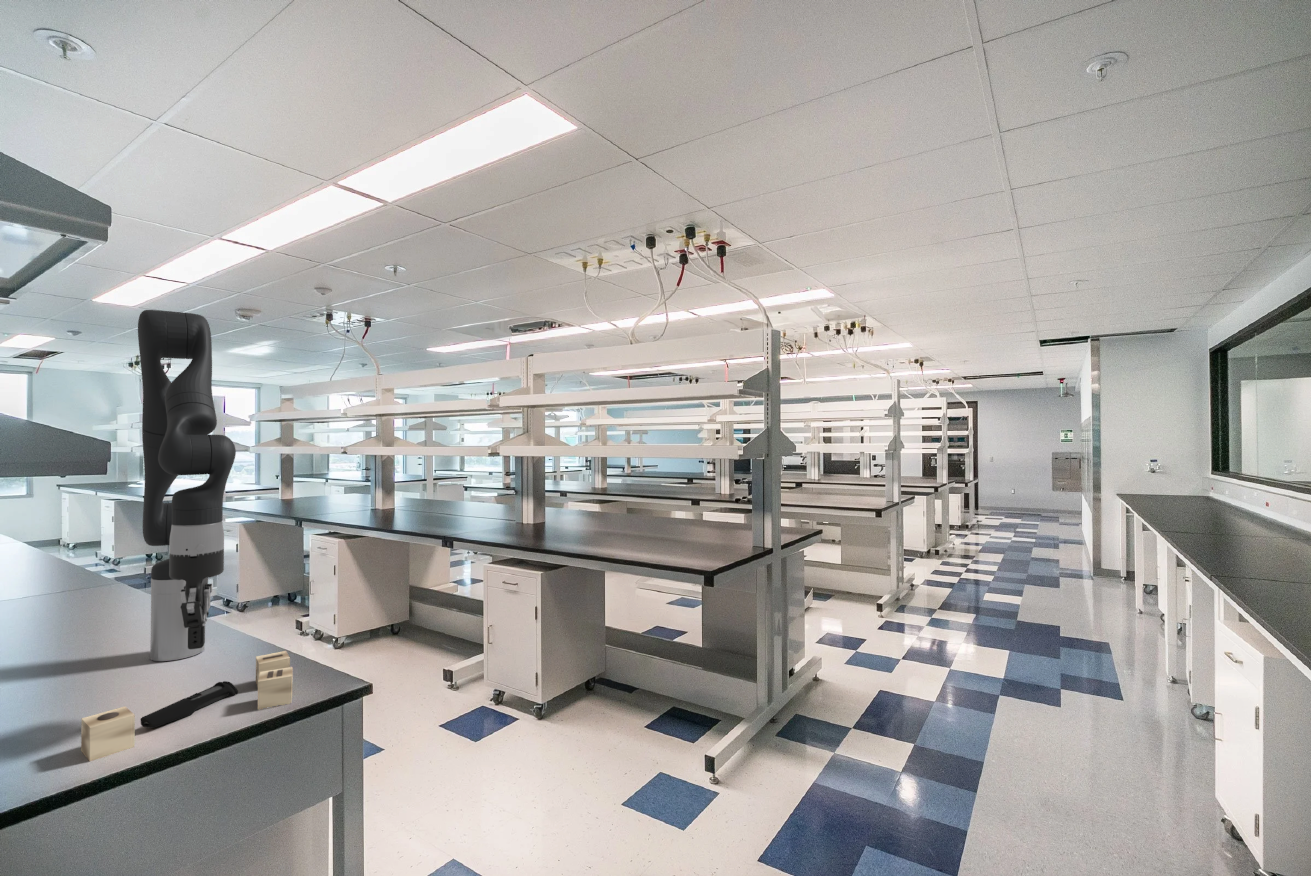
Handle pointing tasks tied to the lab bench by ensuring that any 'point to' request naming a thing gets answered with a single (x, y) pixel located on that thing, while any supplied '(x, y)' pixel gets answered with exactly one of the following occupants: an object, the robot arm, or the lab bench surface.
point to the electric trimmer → (189, 705)
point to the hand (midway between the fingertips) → (196, 647)
